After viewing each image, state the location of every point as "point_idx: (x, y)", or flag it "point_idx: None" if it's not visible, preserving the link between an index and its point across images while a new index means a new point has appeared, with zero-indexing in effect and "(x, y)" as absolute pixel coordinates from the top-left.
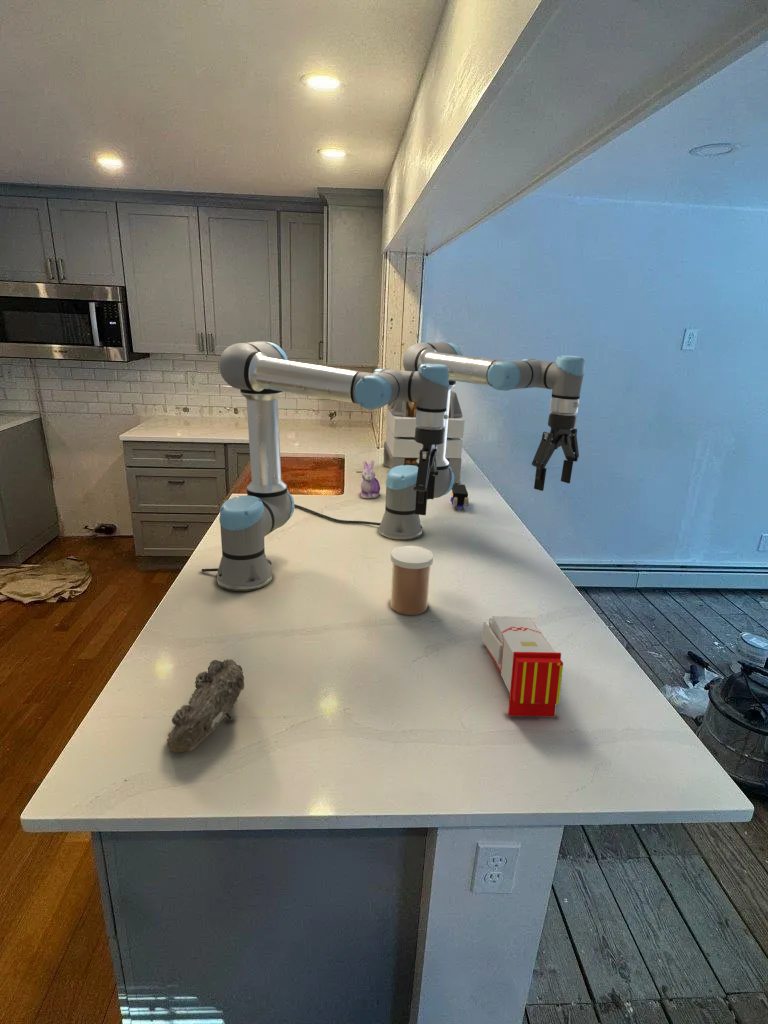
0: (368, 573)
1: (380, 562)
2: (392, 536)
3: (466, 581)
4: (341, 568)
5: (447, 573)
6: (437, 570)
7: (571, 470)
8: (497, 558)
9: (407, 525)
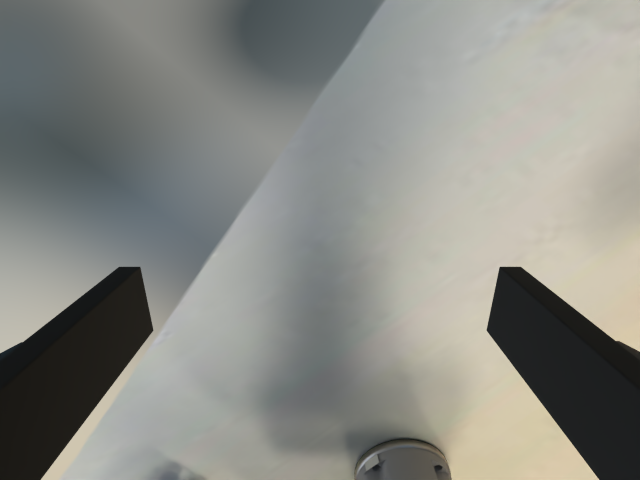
0: None
1: None
2: (447, 464)
3: (507, 247)
4: None
5: None
6: None
7: (43, 334)
8: (338, 284)
9: (430, 477)
